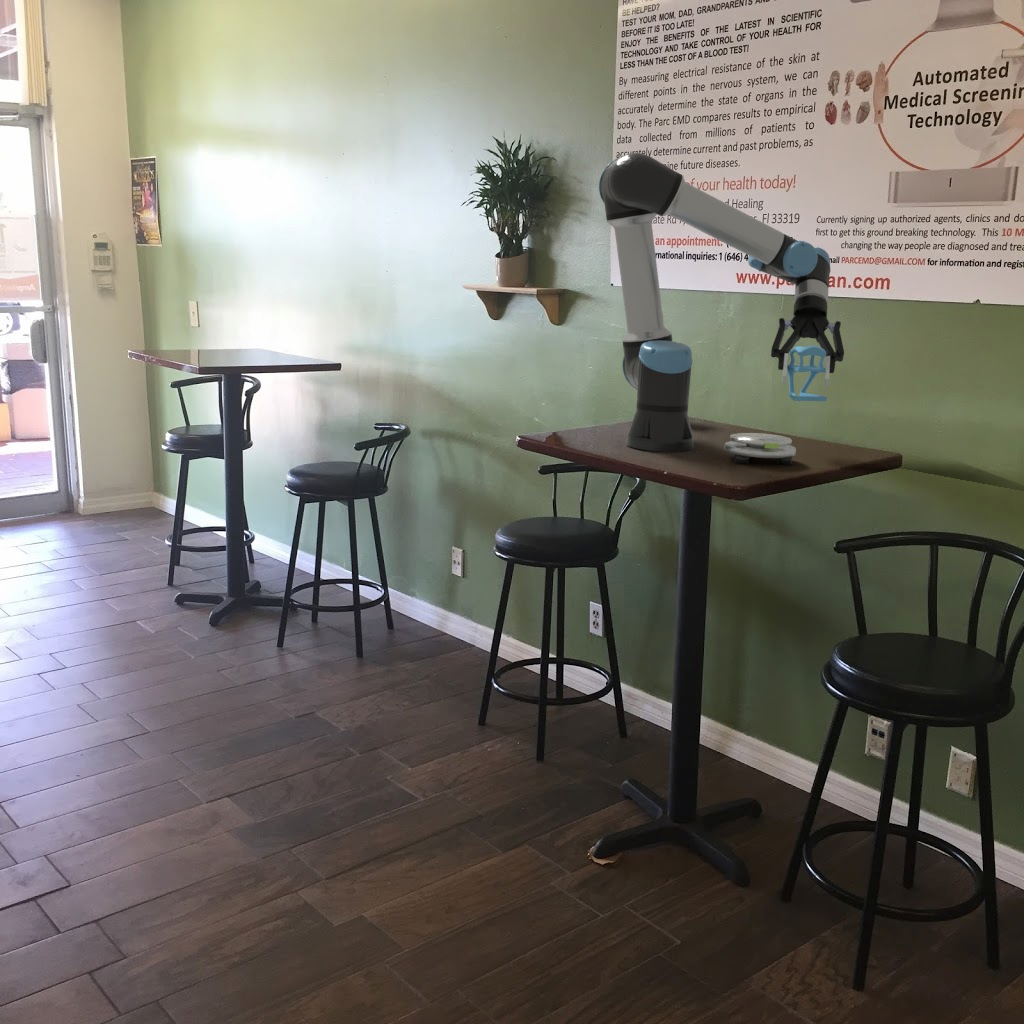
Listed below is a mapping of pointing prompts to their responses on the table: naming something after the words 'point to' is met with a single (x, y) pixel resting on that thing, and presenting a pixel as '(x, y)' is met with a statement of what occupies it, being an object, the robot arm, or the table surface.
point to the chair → (814, 370)
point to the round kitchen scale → (760, 447)
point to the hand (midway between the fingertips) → (805, 381)
